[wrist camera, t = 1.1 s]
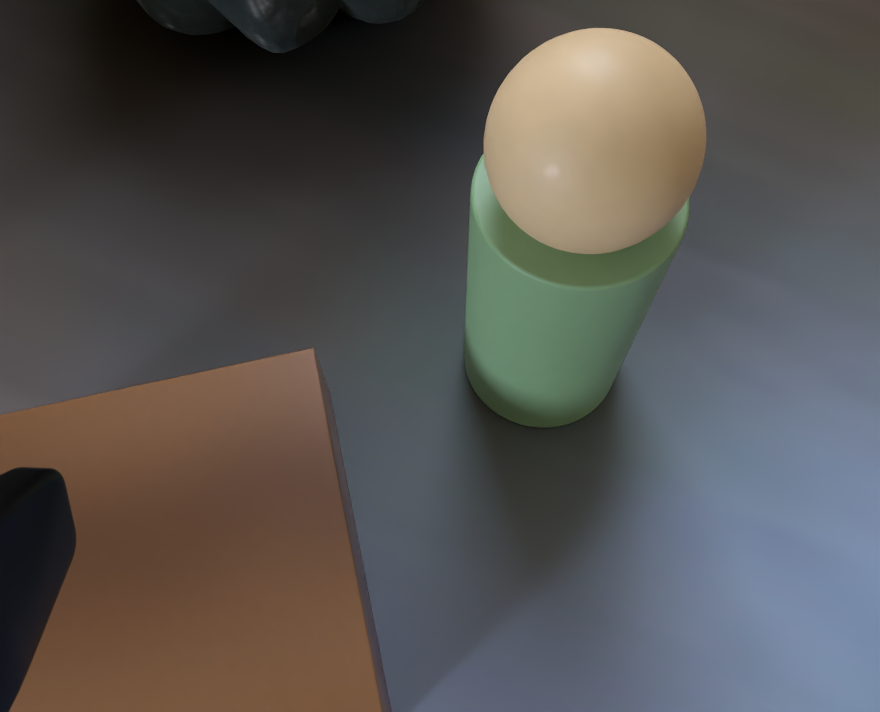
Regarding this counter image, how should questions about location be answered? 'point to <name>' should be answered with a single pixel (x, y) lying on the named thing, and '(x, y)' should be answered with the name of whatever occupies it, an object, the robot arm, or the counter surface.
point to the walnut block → (203, 548)
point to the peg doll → (575, 219)
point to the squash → (271, 17)
